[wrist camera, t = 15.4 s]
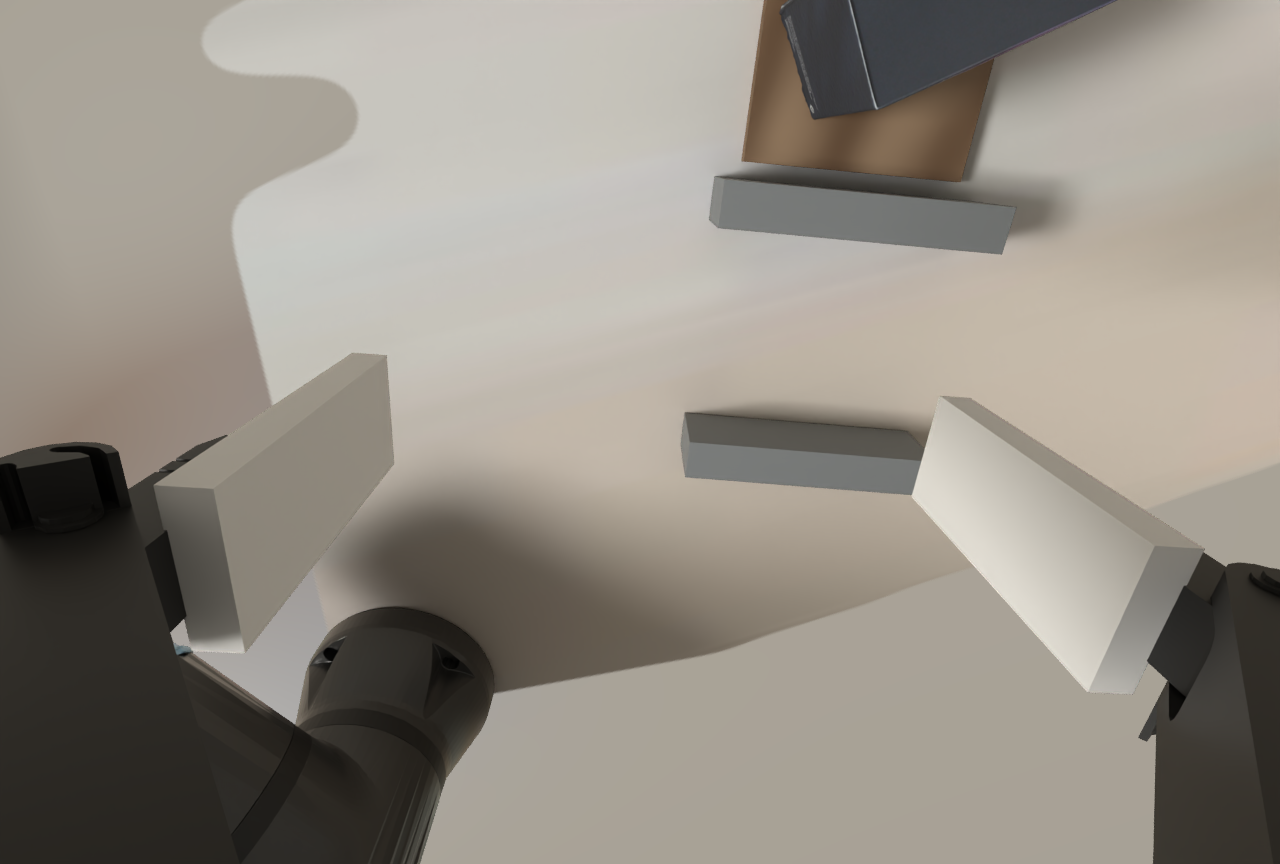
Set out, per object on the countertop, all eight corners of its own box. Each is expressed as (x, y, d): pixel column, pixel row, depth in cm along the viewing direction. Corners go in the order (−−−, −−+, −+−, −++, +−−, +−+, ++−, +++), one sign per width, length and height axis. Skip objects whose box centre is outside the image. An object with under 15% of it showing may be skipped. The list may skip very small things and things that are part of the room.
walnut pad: (741, 161, 38) (743, 161, 37) (786, -160, 32) (790, -170, 31) (952, 181, 38) (960, 182, 37) (1036, -132, 32) (1048, -140, 31)
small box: (811, 130, 36) (873, 120, 27) (775, 7, 34) (828, -52, 24) (996, 44, 35) (1133, 0, 25) (971, -92, 32) (1113, -198, 23)
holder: (680, 444, 45) (685, 477, 41) (714, 176, 38) (724, 179, 34) (898, 462, 46) (926, 496, 41) (972, 201, 39) (1016, 207, 34)
